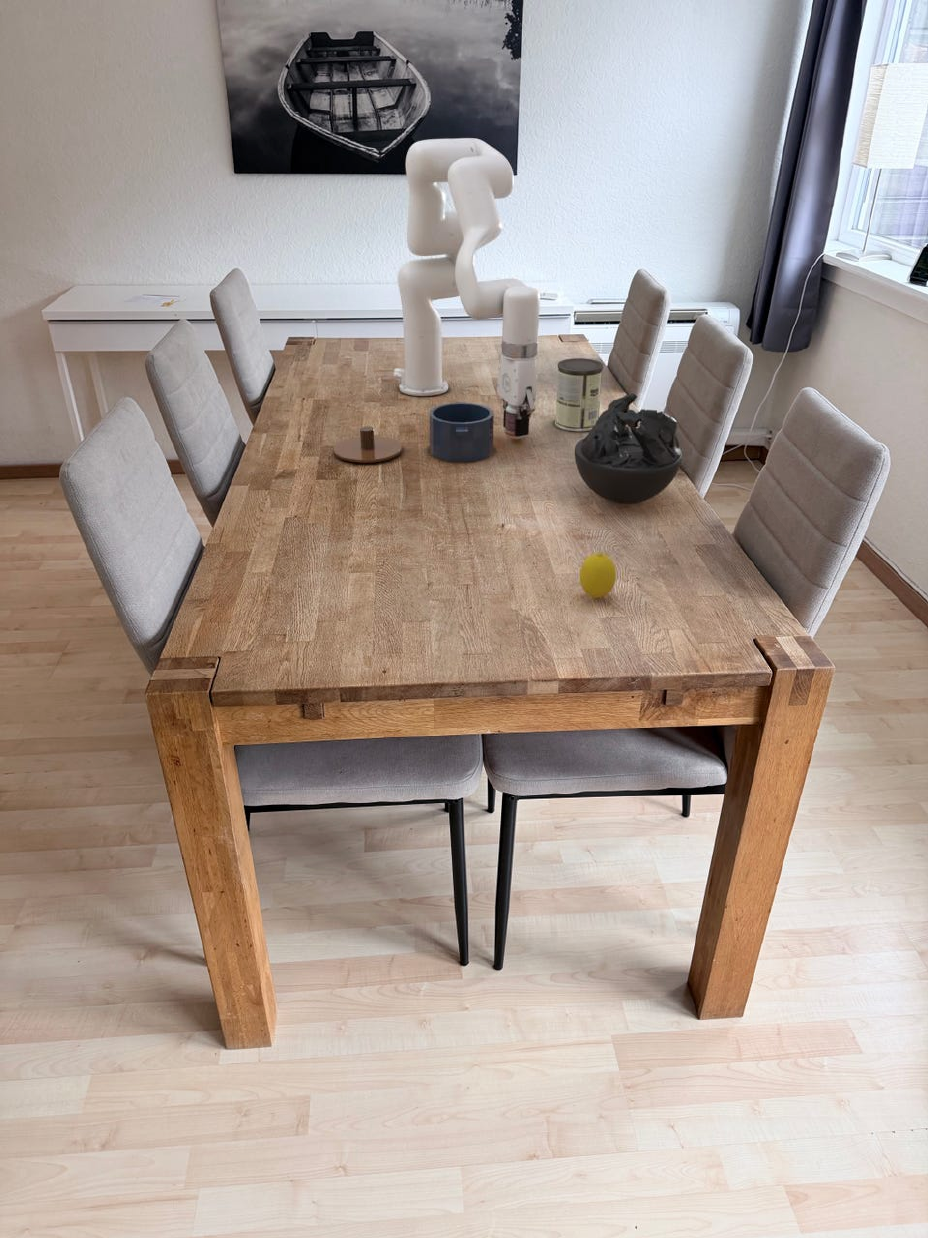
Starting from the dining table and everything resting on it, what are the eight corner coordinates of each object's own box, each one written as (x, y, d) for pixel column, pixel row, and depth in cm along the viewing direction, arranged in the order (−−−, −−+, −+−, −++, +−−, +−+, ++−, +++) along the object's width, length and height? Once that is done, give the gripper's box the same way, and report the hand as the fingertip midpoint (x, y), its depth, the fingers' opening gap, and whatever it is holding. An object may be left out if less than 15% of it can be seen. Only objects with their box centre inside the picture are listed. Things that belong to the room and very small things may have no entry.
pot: (429, 467, 189) (428, 428, 184) (431, 435, 205) (430, 398, 200) (494, 467, 189) (495, 427, 184) (491, 435, 205) (491, 398, 200)
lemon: (575, 590, 145) (578, 545, 140) (609, 588, 145) (613, 544, 141) (581, 607, 140) (585, 562, 136) (617, 606, 140) (621, 560, 136)
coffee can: (562, 414, 217) (566, 355, 210) (604, 420, 213) (609, 360, 206) (547, 427, 209) (551, 367, 202) (590, 434, 205) (595, 372, 198)
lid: (330, 465, 189) (328, 440, 187) (338, 440, 202) (336, 417, 199) (400, 465, 190) (399, 440, 187) (403, 440, 202) (402, 417, 199)
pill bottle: (524, 440, 199) (526, 403, 195) (503, 438, 200) (504, 401, 195) (527, 432, 203) (529, 396, 198) (506, 430, 204) (508, 394, 199)
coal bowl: (652, 530, 163) (664, 430, 153) (553, 505, 172) (559, 409, 162) (690, 492, 178) (704, 399, 168) (597, 471, 187) (605, 381, 177)
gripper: (486, 340, 196) (484, 420, 206) (522, 361, 183) (518, 446, 193) (516, 336, 199) (513, 416, 209) (554, 357, 186) (549, 441, 196)
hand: (515, 430), depth 201 cm, fingers closed on pill bottle, 4 cm apart
